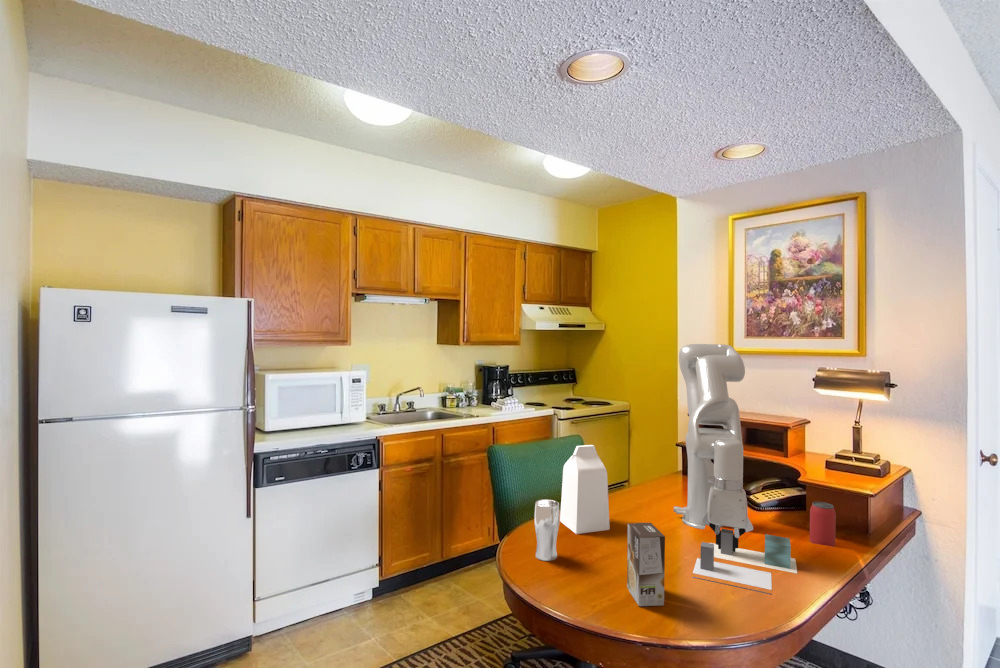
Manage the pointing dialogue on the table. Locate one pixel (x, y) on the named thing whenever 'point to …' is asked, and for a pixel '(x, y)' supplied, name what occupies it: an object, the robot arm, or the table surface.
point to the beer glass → (546, 528)
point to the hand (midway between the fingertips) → (726, 548)
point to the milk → (585, 492)
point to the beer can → (822, 524)
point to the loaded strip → (745, 554)
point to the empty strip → (729, 571)
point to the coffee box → (646, 564)
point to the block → (777, 551)
